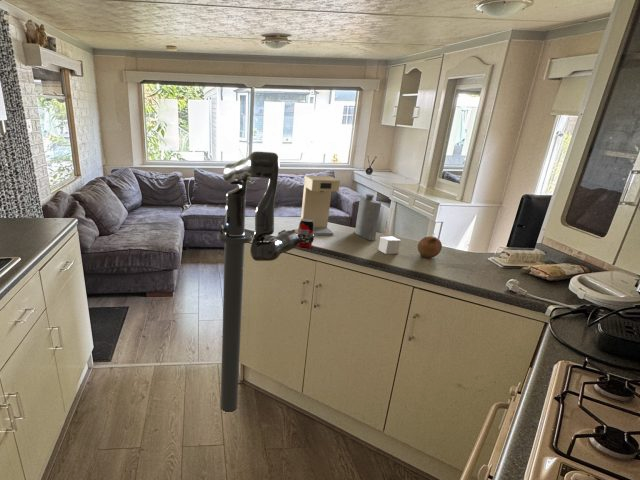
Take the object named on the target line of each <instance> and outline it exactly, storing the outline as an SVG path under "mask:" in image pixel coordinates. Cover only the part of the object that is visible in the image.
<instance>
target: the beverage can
mask: <svg viewBox="0 0 640 480" xmlns="http://www.w3.org/2000/svg"><path fill="white" fill-rule="evenodd" d="M313 229H314V223H313V220H312V219H301V218H300V221H299V224H298V233H297V234H305V235H308V234H310V233H313ZM302 238H303V236H302ZM312 245H313V242H312V243H310V244H307V245H305V242H304V243H298V245H297V246H298V247H299V248H302V249H309V248H311V247H312Z"/></svg>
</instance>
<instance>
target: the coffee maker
mask: <svg viewBox="0 0 640 480" xmlns="http://www.w3.org/2000/svg"><path fill="white" fill-rule="evenodd" d="M340 184H341V180H340V179H338V178H335V177H334V176H331V175H304V182H303V192H302V193H303V194H302V204H301V213H300V220H301V219H312V220H313V223H314V229H313V234H314V235H313V236H334V232H333V231H332V230H331V229H330V228H328V224H329V216H330V207H331V199H332V192H339V190H340Z"/></svg>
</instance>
